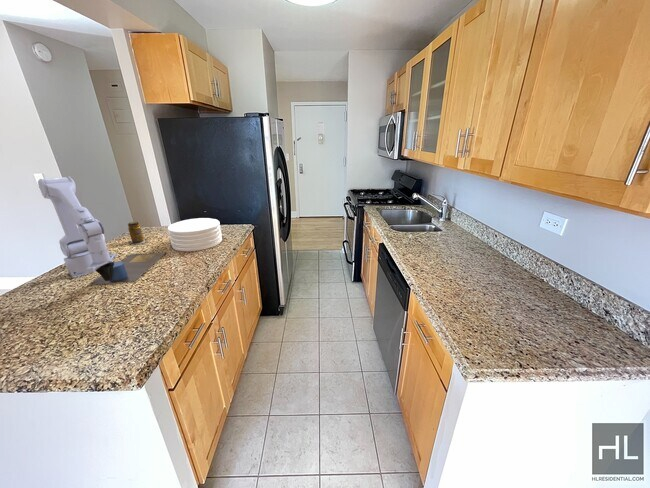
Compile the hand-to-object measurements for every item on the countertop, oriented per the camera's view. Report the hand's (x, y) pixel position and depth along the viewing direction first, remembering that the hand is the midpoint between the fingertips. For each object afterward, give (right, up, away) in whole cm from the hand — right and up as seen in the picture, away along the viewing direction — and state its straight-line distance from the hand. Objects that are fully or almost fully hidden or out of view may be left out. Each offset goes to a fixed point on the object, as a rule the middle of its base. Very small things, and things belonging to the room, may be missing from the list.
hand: (108, 280), depth 110 cm
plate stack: (+15, +16, +48) cm, 53 cm away
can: (-1, 0, +6) cm, 6 cm away
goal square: (-4, +8, +26) cm, 27 cm away
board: (-2, +4, +17) cm, 17 cm away
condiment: (-23, +16, +49) cm, 56 cm away
